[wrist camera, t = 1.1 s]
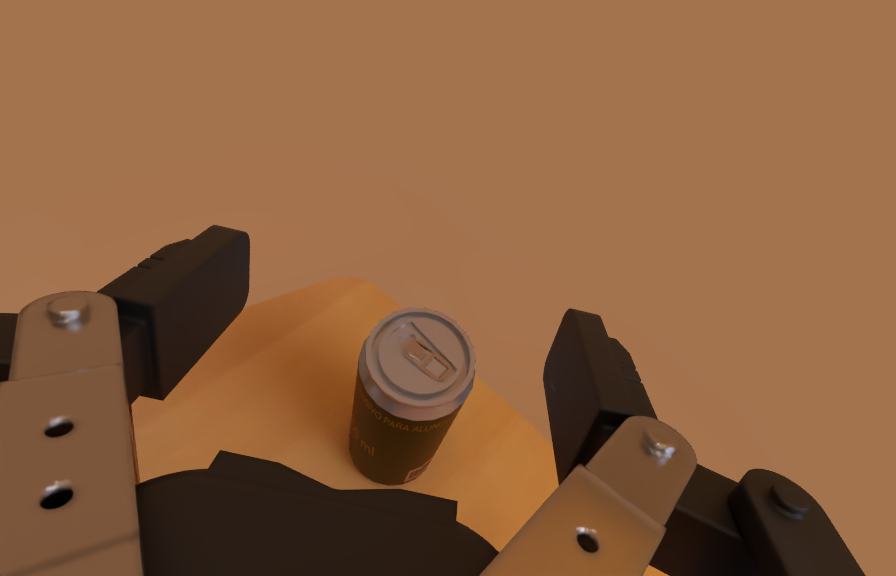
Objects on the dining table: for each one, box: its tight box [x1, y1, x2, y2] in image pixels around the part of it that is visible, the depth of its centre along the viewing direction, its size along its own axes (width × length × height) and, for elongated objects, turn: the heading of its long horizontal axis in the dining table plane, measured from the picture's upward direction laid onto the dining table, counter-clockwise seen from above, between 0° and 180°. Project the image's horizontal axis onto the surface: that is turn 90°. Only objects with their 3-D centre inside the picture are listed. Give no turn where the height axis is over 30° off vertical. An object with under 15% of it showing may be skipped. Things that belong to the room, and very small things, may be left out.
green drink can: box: [349, 308, 476, 485], centre depth 26 cm, size 5×5×12 cm
